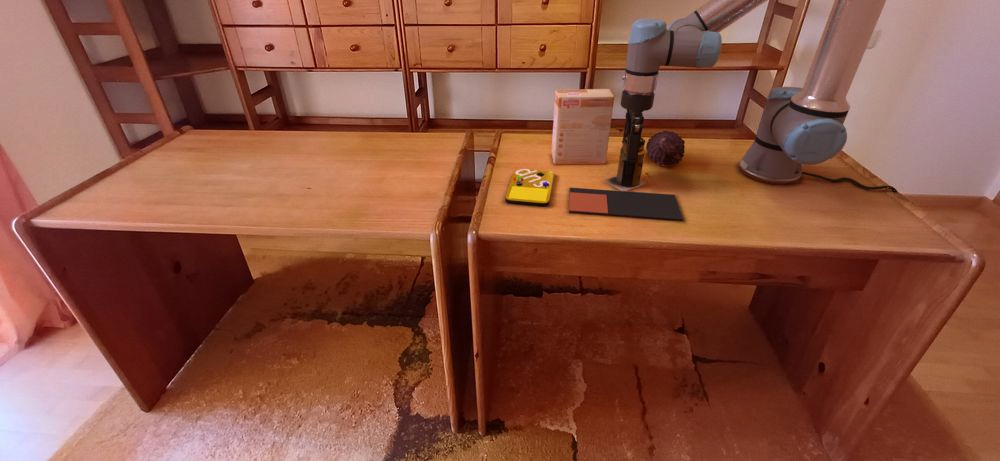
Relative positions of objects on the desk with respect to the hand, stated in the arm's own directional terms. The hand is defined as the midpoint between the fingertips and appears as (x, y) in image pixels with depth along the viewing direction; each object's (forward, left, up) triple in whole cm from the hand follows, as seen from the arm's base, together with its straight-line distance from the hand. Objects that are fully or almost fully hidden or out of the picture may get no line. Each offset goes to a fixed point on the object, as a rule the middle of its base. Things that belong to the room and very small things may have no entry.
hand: (625, 178), depth 125 cm
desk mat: (+1, +12, -1) cm, 12 cm away
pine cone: (-12, -15, -1) cm, 19 cm away
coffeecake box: (+12, -13, -1) cm, 18 cm away
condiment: (0, +1, -1) cm, 1 cm away
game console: (+24, +7, -1) cm, 25 cm away
